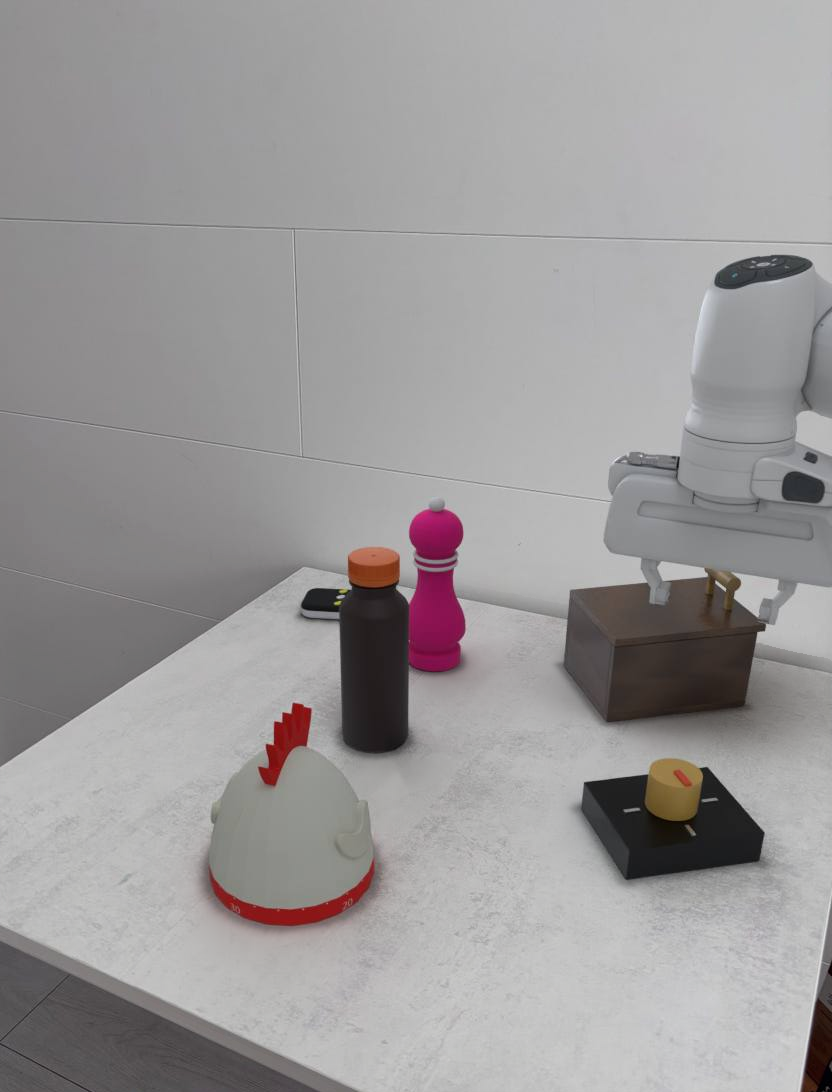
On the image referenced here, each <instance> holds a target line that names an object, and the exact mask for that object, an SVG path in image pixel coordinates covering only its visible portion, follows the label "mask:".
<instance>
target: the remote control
mask: <svg viewBox="0 0 832 1092" xmlns="http://www.w3.org/2000/svg"><path fill="white" fill-rule="evenodd" d="M351 590H352V589H347V588H346V589H345V588H328V587H325V588H324V587H314V588H311V589H309V590H307V592H306V593H305V594H304V596H303V599H302V601H301V603H300V612H301V614H302V615H303V616H304V617H307V618H310V619H327V620H339V605H340V603H341V600H342V599H343V598H344V597H345V596H346V595H347V594H348V593H349V592H350V591H351Z"/></svg>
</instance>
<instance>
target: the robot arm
mask: <svg viewBox="0 0 832 1092" xmlns="http://www.w3.org/2000/svg"><path fill="white" fill-rule="evenodd" d="M690 362H691V363H690V372H689V374H690V375H689V376H690V382H691V389H692V393H691V394H692V396H691V401H690V405H689V409H688V411H687V413H686V415H685V417H684V422H683V427H682V436H681V443H680V445H681V446H680V453H679V456H678V455H668V454H650V453H645V452H641V451H629V452H628V453H627V454H626V455H622V456H619V457H617V458H616V459H615V460H614V461H613V462H612V463H611V464H610V467H609V470H608V482H607V486H608V491H609V493H610V495H611V496H612V497H611V501H610V504H609V507H608V512H607V515H606V520H605V525H604V532H603V537H602V539H603V544H604V545H605V547H606V548H607V551H608V552H609V553H611V554H615V555H621V556H626V557H627V556H628V557H631V558H632V557H634V558H639V559H641V560H640V568H639V569H640V570H641V573H642V575H643V577H644V579H645V580H646V583H648V585H649V587H651V590H650V599H649V603H651V604H658V605H664V606H666V604H667V603H668V601H669V597H670V593H669V591H670V589H671V583H670V582H665V581H666V580H663V578H662V576H661V574H660V571H659V569H658V567H659V566H660V564H661V562H664V563H670V564H675V565H676V564H678V565H682V566H683V565H684V566H690V567H697V568H703V569H704V568H708V569H714V570H721V571H727V572H731V573H733V574H741V575H746V576H753V577H759V578H766V579H771V580H777V581H778V583H777V591H779V592H778V593H777V594H776V595H775V596H774V597H773V598H767V597H763V598H762V600H761V602H760V605H759V610H758V616H757V618H758V621H757V622H759V623H765V624H766V625H772V626H775V625H776V624H777V621H778V617H779V613H780V608H782V606H784V605H785V603H786V602H787V601H788V600H789V599H791V598H792V596H794V594H795V592H796V589H797V586H798V584H804V585H809V586H814V587H815V586H816V587H822V588H832V455H829V454H827V453H824V452H822V451H820V450H817V449H815V448H812V447H810V446H807V445H805V444H804V443H801V442H799V441H796V437H797V431H798V423H797V422H798V421H797V417H798V415H799V414H801V413H803V412H807V411H809V412H812V413H815V414H817V415H819V416H821V417H825V418H828V419H830V420H832V283H830V282H829V281H828V280H826V279H825V278H824V277H822V276H821V275H820V274H819V273H818V272H817V271H816V266H815V263H814V262H813V261H811V260H810V259H808V258H806V257H803V256H799V255H793V254H770V255H763V256H759V255H757V256H752V257H748V258H743V259H740V260H736V261H734V262H732V263H729V264H728V265H726V266H725V267H723V268H721V269H719V271H717V272H716V273H715V274H714V276H713V278H712V279H711V281H710V283H709V285H708V288H707V289H706V291H705V295H704V298H703V301H702V304H701V307H700V311H699V315H698V320H697V325H696V329H695V336H694V341H693V348H692V355H691V361H690ZM625 461H626V462H625Z"/></svg>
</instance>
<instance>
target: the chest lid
mask: <svg viewBox="0 0 832 1092" xmlns="http://www.w3.org/2000/svg"><path fill="white" fill-rule="evenodd" d="M703 569H704V572H705V573H706V574H707V576H702V577H690V578H680V579H671V580H670V579H669V580H664V581H665V582H670V583H671V589H670V591H669V593H670V597H669V601H668V603H667V604H666V606H664V605H658V604H651V603H649V599H650V590H651V587H649V585H648V583H647V582H637V583H627V584H617V585H605V586H595V587H585V588H574V589H573V588H572V589H569V597H571V598H572V599H573V601H574V602H575V603H576V604H577V605H578V606H579V607H580V608H581V610H582V611H583V612H584V613H585V614H586V615H587V616H588V617H589V618H590V620H591V621H592V622H593V623H594V624H595V625H596V626H597V627H598V629H599V630H600V631H601V632H602V633H603V634H604V635H605V636H606V637H607V639H608V640H609V641H610V642H611V643H612V644H613V645H614V646H615V647H618V646H628V645H638V644H647V643H657V642H667V641H676V640H686V639H696V638H705V637H715V636H725V635H734V634H744V633H754V632H757V633H762V632H766V630H767V629H766V628H767V624H765V623H759V622H757V621H758V616H757V615H755V614H754V613H753V612H751V611H750V610H749V609H748V608H746V607H745V606H744V605H743V604H742V603H741V602H739V601H738V600H737V599H735V594H736V592H737V591H739V589H740V588H741V587H742V580H741V579H740V577H738V576H736V575H735V573H733V572H727V571H721V570H714V569H708V568H703ZM716 582H717V583H718V584H717V583H716ZM719 584H720V585H721V586H722V587H723V588H725V590H724V589H723V588H722V587H720V586H719Z"/></svg>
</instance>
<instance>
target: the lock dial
mask: <svg viewBox="0 0 832 1092" xmlns="http://www.w3.org/2000/svg"><path fill="white" fill-rule="evenodd" d="M699 768H700V767H699V766H697V765H695V764H693V763H691V762H690V761H688V760H684V759H680V758H676V757H675V758H674V757H665V758H660V759H657V760H655V761H653V762H652V763H651V764H650V765H649V768H648V774H649V775H648V782H647V789H646V797H645V805H646V807H647V809H648V810H649V811H650V812H651V813H652V814H654V815H655V816H657V817H660V818H662V819H666V820H670V821H684V820H688V819H691V818H692V817H694V816H695V815H696V813H697V810H698V804H699V798H700V792H701V786H702V780H703V774H702V772H701V770H700V769H699Z"/></svg>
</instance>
